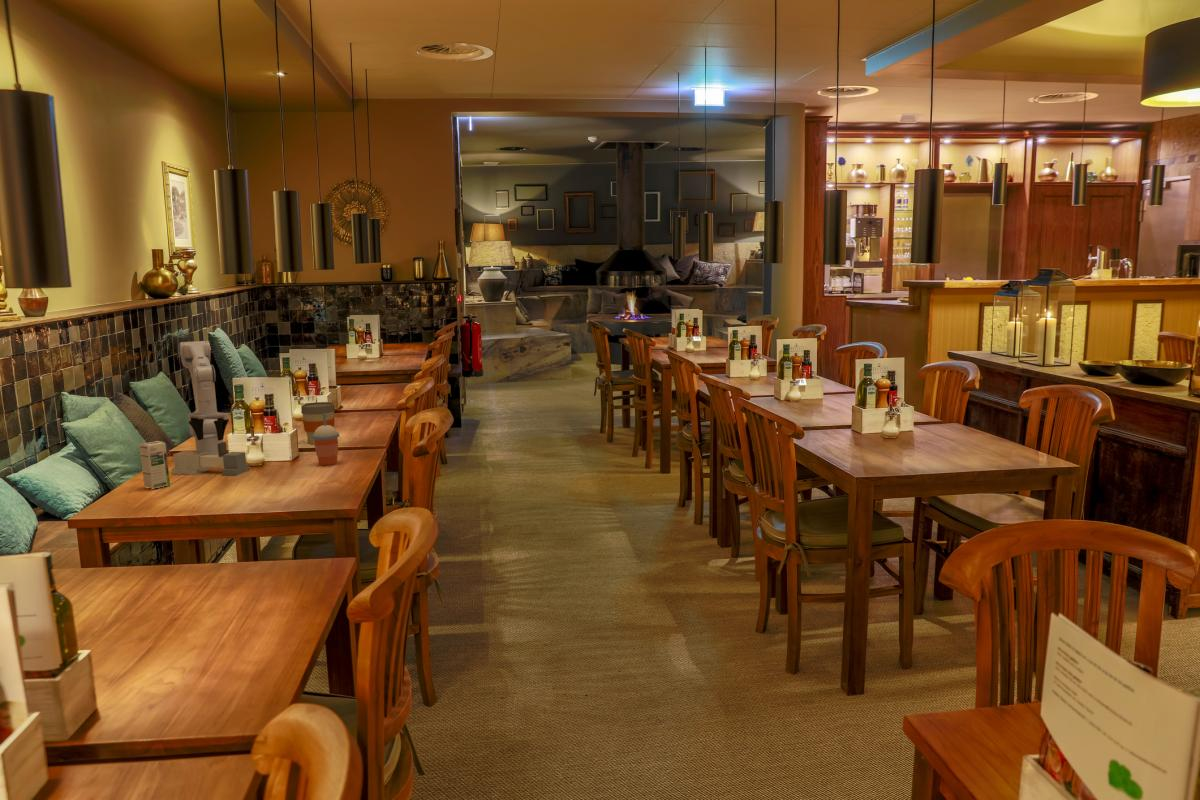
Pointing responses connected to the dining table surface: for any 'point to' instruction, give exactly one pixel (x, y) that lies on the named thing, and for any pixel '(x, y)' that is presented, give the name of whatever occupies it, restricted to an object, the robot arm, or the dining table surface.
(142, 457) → the syrup box
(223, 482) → the dining table surface
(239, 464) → the slate stepped block
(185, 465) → the beige stepped block
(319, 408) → the reusable coffee cup
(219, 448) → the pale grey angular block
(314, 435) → the cup with straw
